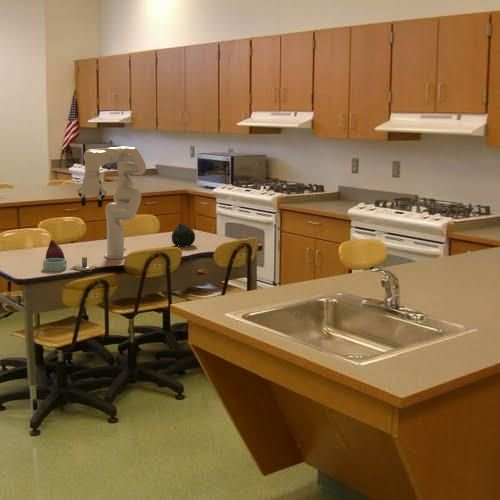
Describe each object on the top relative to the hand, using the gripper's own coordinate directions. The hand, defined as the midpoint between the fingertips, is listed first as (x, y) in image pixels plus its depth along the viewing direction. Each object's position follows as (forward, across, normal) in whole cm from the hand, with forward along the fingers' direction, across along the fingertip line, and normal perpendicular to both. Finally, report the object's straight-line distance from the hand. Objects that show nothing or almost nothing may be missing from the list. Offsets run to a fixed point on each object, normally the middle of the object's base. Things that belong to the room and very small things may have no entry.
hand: (91, 206), depth 389 cm
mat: (+33, +1, +6) cm, 34 cm away
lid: (+33, +1, +6) cm, 33 cm away
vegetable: (+33, +23, -1) cm, 40 cm away
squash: (+31, -23, -76) cm, 85 cm away
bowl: (+33, +14, +14) cm, 39 cm away
